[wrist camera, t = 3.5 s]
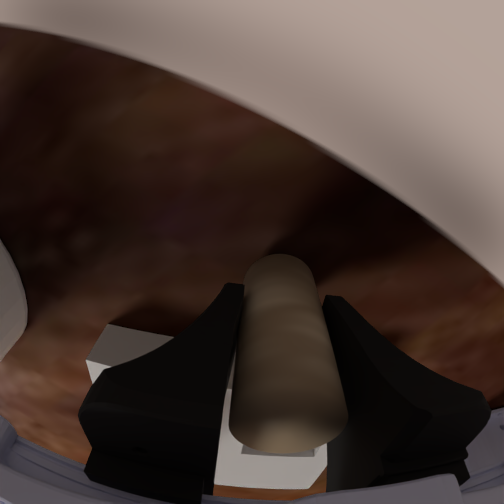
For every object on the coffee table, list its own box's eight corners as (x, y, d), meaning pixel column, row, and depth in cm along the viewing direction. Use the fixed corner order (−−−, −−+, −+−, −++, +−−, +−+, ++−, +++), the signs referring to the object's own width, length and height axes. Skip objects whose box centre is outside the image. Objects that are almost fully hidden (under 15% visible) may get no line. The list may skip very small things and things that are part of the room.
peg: (321, 259, 13) (366, 391, 6) (305, 318, 14) (327, 453, 8) (247, 249, 13) (234, 383, 6) (239, 310, 14) (224, 448, 8)
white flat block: (359, 356, 16) (378, 415, 12) (305, 458, 21) (309, 501, 17) (107, 323, 16) (75, 376, 12) (133, 436, 21) (119, 477, 17)
